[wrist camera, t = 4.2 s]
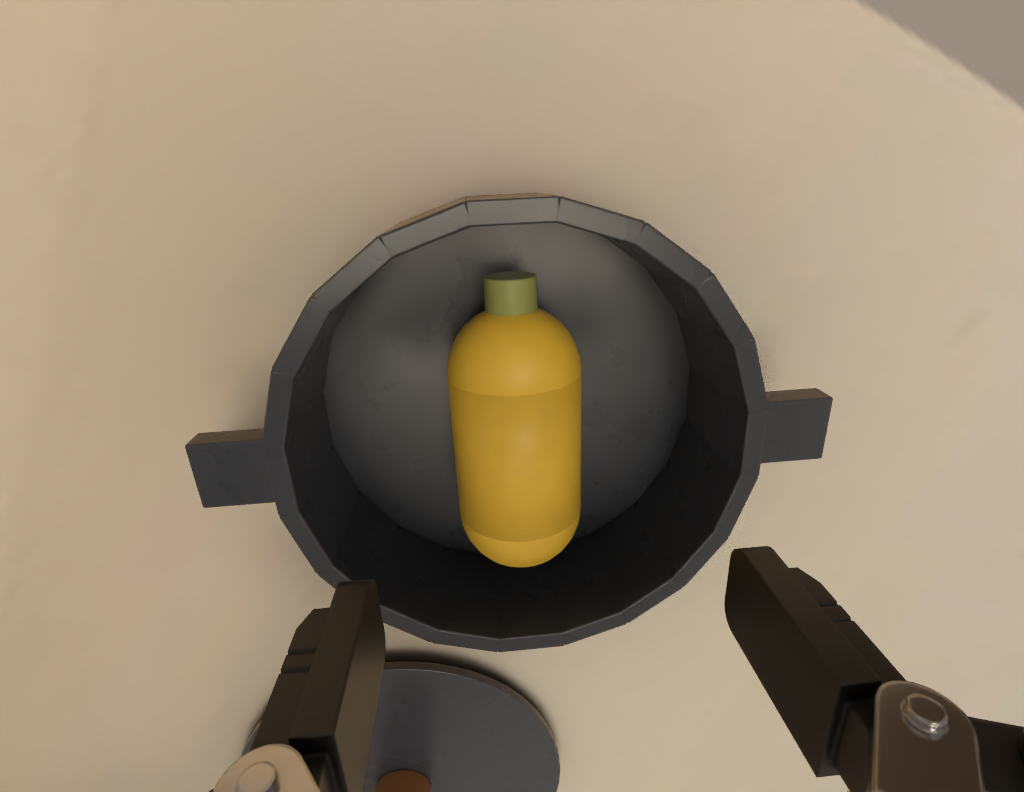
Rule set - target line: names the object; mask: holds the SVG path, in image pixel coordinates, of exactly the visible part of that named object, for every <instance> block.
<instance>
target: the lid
mask: <svg viewBox="0 0 1024 792" xmlns="http://www.w3.org/2000/svg"><path fill="white" fill-rule="evenodd" d="M260 723H261V721H260V722H259V723H258V724H257V725H256V727H255V729H254V730H253V732H252V734H251V735H250V737H249V739H248V741H247V743H246V746H245V748H244V751H243V754H242V756H243V755H245V754H247V753H248V752H249V750H250V748H251V746H252V744H253V741H254V739H255V736H256V733H257V731H258V728H259V726H260ZM242 756H241V757H242ZM559 775H560V764H559V755H558V749H557V746H556V742H555V739H554V736H553V734H552V732H551V730H550V728H549V726H548V724H547V722H546V721H545V720H544V718H543V717H542V716H541V714H540V713H539V712H538V711H537V709H536V708H535V707H534V706H533V705H531V704H530V703H529V702H528V701H527V700H526V699H525V698H524V697H523V696H521V695H520V694H518V693H517V692H515V691H514V690H512V689H511V688H510V687H508V686H506V685H504V684H502V683H500V682H498V681H496V680H494V679H492V678H490V677H487V676H485V675H482V674H479V673H477V672H474V671H471V670H467V669H463V668H459V667H455V666H451V665H444V664H438V663H431V662H412V661H401V662H384V668H383V674H382V679H381V685H380V691H379V697H378V703H377V708H376V714H375V720H374V726H373V732H372V737H371V743H370V749H369V755H368V761H367V766H366V772H365V778H364V784H363V790H362V792H556V791H557V788H558V784H559Z"/></svg>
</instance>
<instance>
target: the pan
mask: <svg viewBox="0 0 1024 792" xmlns="http://www.w3.org/2000/svg"><path fill="white" fill-rule="evenodd" d="M510 271H522V272H531V273H534V274H536V276H537V308H539V309H541V310H544V311H546V312H548V313H549V314H551V315H552V316H554V317H555V318H556V319H558V320H559V321H560V322H561V323H562V324H563V325H564V327H565V328H566V329H567V330H568V331H569V333H570V334H571V336H572V338H573V340H574V341H575V344H576V347H577V350H578V353H579V356H580V361H581V510H580V518H579V523H578V526H577V528H576V531H575V533H574V535H573V537H572V539H571V540H570V542H569V543H568V544H567V546H566V547H565V548H564V549H563V550H562V551H561V552H560V553H559V554H557V555H556V556H555V557H553V558H552V559H550V560H549V561H547V562H544V563H542V564H539V565H536V566H530V567H509V566H505V565H501V564H499V563H496V562H494V561H492V560H491V559H489V558H488V557H486V556H485V555H483V554H482V553H481V552H480V551H479V550H478V549H477V548H476V547H475V546H474V545H473V544H472V542H471V541H470V539H469V538H468V536H467V534H466V532H465V530H464V527H463V525H462V520H461V515H460V508H459V498H458V487H457V477H456V466H455V455H454V445H453V434H452V423H451V413H450V402H449V392H448V381H447V362H448V357H449V353H450V349H451V347H452V345H453V343H454V340H455V338H456V336H457V335H458V333H459V332H460V330H461V329H462V328H463V326H464V325H465V324H466V323H468V322H469V321H470V320H471V319H472V318H473V317H474V316H476V315H477V314H479V313H481V312H483V311H484V310H485V301H484V285H483V277H484V276H486V275H488V274H492V273H498V272H510ZM832 400H833V398H832V397H831V396H829V395H827V394H825V393H824V392H822V391H820V390H819V389H817V388H811V389H798V390H784V391H770V392H765V388H764V383H763V378H762V373H761V368H760V363H759V358H758V353H757V348H756V343H755V339H754V338H753V335H752V333H751V332H750V330H749V329H748V327H747V325H746V324H745V322H744V321H743V319H742V318H741V316H740V314H739V313H738V311H737V310H736V308H735V306H734V305H733V303H732V302H731V300H730V299H729V297H728V295H727V294H726V292H725V291H724V289H723V287H722V286H721V284H720V283H719V281H718V280H717V278H716V276H715V275H714V274H713V273H711V270H710V269H708V268H707V267H706V266H704V265H703V264H702V263H700V262H699V261H698V260H696V259H695V258H694V257H692V256H691V255H690V254H688V253H687V252H686V251H684V250H683V249H682V248H680V247H679V246H678V245H676V244H675V243H674V242H672V241H671V240H670V239H668V238H667V237H666V236H664V235H663V234H662V233H660V232H659V231H658V230H656V229H655V228H654V227H652V226H651V225H650V224H648V223H645V222H644V221H642V220H639V219H636V218H632V217H629V216H626V215H622V214H619V213H616V212H612V211H609V210H606V209H602V208H599V207H596V206H592V205H589V204H585V203H582V202H579V201H575V200H572V199H569V198H565V197H562V196H555V195H547V194H540V193H524V194H499V195H483V196H467V197H466V198H465V197H463V198H460V199H458V200H455V201H453V202H450V203H448V204H445V205H443V206H440V207H438V208H435V209H433V210H430V211H428V212H425V213H423V214H421V215H418V216H416V217H413V218H411V219H408V220H406V221H403V222H401V223H399V224H397V225H396V226H394V227H392V228H391V229H389V230H387V231H386V232H384V233H382V234H381V235H379V236H377V237H376V238H375V239H374V240H373V241H372V242H370V243H369V244H368V245H367V246H366V247H365V248H364V249H362V250H361V251H360V252H359V253H358V254H357V255H356V256H355V257H353V258H352V259H351V260H350V261H349V262H348V263H347V264H346V265H344V266H343V267H342V268H341V269H340V270H339V271H338V272H337V273H335V274H334V275H333V276H332V277H331V278H330V279H329V280H327V281H326V282H325V283H324V284H323V285H322V286H321V287H320V288H318V289H317V290H316V291H315V292H314V293H313V294H312V296H311V297H310V298H309V299H308V301H307V303H306V305H305V307H304V309H303V311H302V313H301V314H300V316H299V318H298V320H297V322H296V324H295V326H294V327H293V329H292V331H291V333H290V335H289V337H288V339H287V341H286V342H285V344H284V346H283V348H282V350H281V352H280V354H279V355H278V357H277V359H276V361H275V363H274V365H273V367H272V371H271V376H270V384H269V392H268V400H267V408H266V416H265V424H264V429H250V430H236V431H223V432H209V433H199V434H197V435H196V436H195V437H194V438H193V439H192V440H191V441H189V442H188V443H187V444H186V446H185V448H186V452H187V455H188V458H189V462H190V465H191V468H192V472H193V475H194V478H195V482H196V485H197V488H198V492H199V495H200V498H201V502H202V505H203V507H204V508H208V507H221V506H233V505H245V504H258V503H270V502H276V506H277V510H278V514H279V515H280V519H281V520H282V522H283V523H284V525H285V526H286V528H287V529H288V531H289V532H290V534H291V535H292V537H293V538H294V540H295V541H296V543H297V544H298V546H299V548H300V549H301V551H302V552H303V554H304V555H305V557H306V558H307V560H308V561H309V563H310V564H311V566H312V567H313V569H314V570H315V572H316V573H318V575H319V576H320V577H321V578H322V579H324V580H325V581H326V582H327V583H329V584H330V585H331V586H332V587H334V588H335V589H336V587H337V585H338V583H339V582H345V581H356V580H368V579H374V580H375V582H376V585H377V590H378V596H379V602H380V608H381V614H382V619H383V622H384V623H386V624H388V625H391V626H393V627H395V628H398V629H400V630H403V631H405V632H407V633H410V634H412V635H414V636H417V637H419V638H422V639H424V640H426V641H429V642H433V643H437V644H444V645H451V646H458V647H465V648H472V649H479V650H486V651H493V652H497V651H498V652H506V651H516V650H526V649H536V648H547V647H557V646H564V644H565V645H567V644H570V643H573V642H576V641H579V640H582V639H584V638H587V637H590V636H593V635H596V634H599V633H602V632H605V631H607V630H610V629H613V628H616V627H619V626H622V625H625V624H626V623H627V622H628V623H629V622H631V621H632V620H634V619H635V618H637V617H638V616H640V615H641V614H643V613H644V612H646V611H648V610H649V609H651V608H652V607H654V606H655V605H657V604H658V603H660V602H661V601H663V600H664V599H666V598H668V597H669V596H671V595H672V594H674V593H675V592H677V591H678V590H680V589H681V588H682V587H683V586H685V585H686V584H687V583H688V582H689V581H690V580H691V579H692V578H693V577H694V575H695V574H696V573H697V572H698V571H699V570H700V569H701V568H702V567H703V566H704V564H705V563H706V562H707V561H708V560H709V559H710V558H711V557H712V556H713V555H714V553H715V552H716V551H717V550H718V549H719V548H720V547H721V546H722V545H723V543H724V542H725V541H726V540H727V539H728V536H730V534H731V532H732V530H733V528H734V525H735V523H736V521H737V519H738V517H739V515H740V513H741V511H742V509H743V507H744V505H745V503H746V501H747V499H748V497H749V495H750V493H751V491H752V489H753V487H754V485H755V483H756V481H757V478H758V477H757V476H759V470H760V464H761V463H769V462H781V461H793V460H806V459H818V458H821V457H822V453H823V447H824V442H825V437H826V432H827V426H828V421H829V416H830V411H831V405H832Z"/></svg>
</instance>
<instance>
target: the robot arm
mask: <svg viewBox="0 0 1024 792" xmlns="http://www.w3.org/2000/svg"><path fill="white" fill-rule="evenodd" d="M725 613H726V618H727V622H728V625H729V627H730V630H731V631H732V633H733V635H734V637H735V638H736V640H737V642H738V644H739V645H740V647H741V649H742V650H743V652H744V654H745V656H746V657H747V659H748V661H749V662H750V664H751V666H752V668H753V669H754V671H755V673H756V674H757V676H758V678H759V679H760V681H761V683H762V685H763V686H764V688H765V690H766V691H767V693H768V695H769V697H770V698H771V700H772V702H773V703H774V705H775V707H776V709H777V710H778V712H779V714H780V715H781V717H782V719H783V721H784V722H785V724H786V726H787V727H788V729H789V731H790V732H791V734H792V736H793V738H794V739H795V741H796V743H797V744H798V746H799V748H800V750H801V751H802V753H803V755H804V756H805V758H806V760H807V762H808V763H809V765H810V767H811V768H812V770H813V772H814V774H815V775H816V777H824V776H833V775H840V776H841V777H842V779H843V781H844V782H845V784H846V785H847V787H848V790H847V792H1024V727H1020V726H1015V725H1010V724H1004V723H999V722H993V721H988V720H983V719H977V718H972V717H968V716H966V714H965V713H964V712H963V711H962V710H961V709H960V708H959V707H958V706H957V705H956V704H954V703H953V702H952V701H950V700H949V699H948V698H946V697H945V696H943V695H941V694H940V693H938V692H936V691H934V690H932V689H930V688H928V687H926V686H923V685H920V684H917V683H913V682H908V681H906V680H905V679H904V678H903V676H902V675H901V674H900V673H899V672H898V671H897V670H896V668H895V667H894V666H893V665H892V664H891V663H890V662H889V660H888V659H887V658H886V657H885V656H884V655H883V654H882V653H881V651H880V650H879V649H878V648H877V647H876V646H875V645H874V643H873V642H872V641H871V640H870V639H869V638H868V637H867V635H866V634H865V633H864V632H863V631H862V630H861V629H860V627H859V626H858V625H857V624H856V623H855V622H854V621H851V619H850V616H849V615H848V614H847V613H846V611H845V610H844V609H843V608H842V607H841V606H840V605H837V601H836V600H835V599H834V598H833V597H832V595H831V594H830V593H829V592H828V591H827V590H826V589H825V587H824V586H823V585H822V584H821V583H820V582H818V581H817V580H815V579H814V578H812V577H811V576H809V575H808V574H806V573H805V572H803V571H802V570H800V569H799V568H788V567H787V565H786V564H785V563H784V562H783V561H782V559H781V558H780V557H779V556H778V555H777V553H776V552H775V551H774V550H773V549H772V548H771V547H768V546H763V547H752V548H740V549H734V550H733V551H732V554H731V558H730V565H729V573H728V580H727V588H726V595H725ZM384 662H385V631H384V625H383V619H382V614H381V608H380V602H379V596H378V590H377V585H376V582H375V580H374V579H368V580H356V581H345V582H339V583H338V585H337V587H336V590H335V593H334V596H333V599H332V603H331V606H330V608H322V609H313V610H312V612H311V613H310V614H309V615H308V616H307V617H306V618H305V620H304V621H303V622H302V623H301V624H300V625H299V626H298V628H297V629H296V631H295V634H294V636H293V639H292V642H291V644H290V647H289V650H288V655H286V657H285V660H284V663H283V665H282V668H281V674H279V676H278V678H277V681H276V684H275V686H274V689H273V691H272V694H271V697H270V699H269V702H268V705H267V707H266V710H265V712H264V715H263V718H262V720H261V723H260V726H259V728H258V731H257V733H256V736H255V739H254V741H253V744H252V746H251V748H250V750H249V752H248V753H247V754H245V755H243V756H242V757H241V758H239V759H238V760H237V761H236V762H234V763H233V764H232V765H231V766H230V767H229V768H228V769H227V770H226V772H225V773H224V774H223V775H222V777H221V778H220V779H219V781H218V783H217V784H216V786H215V788H214V789H212V790H211V791H209V792H362V790H363V784H364V778H365V772H366V766H367V761H368V755H369V749H370V743H371V737H372V732H373V726H374V720H375V714H376V708H377V703H378V697H379V691H380V685H381V679H382V674H383V668H384Z"/></svg>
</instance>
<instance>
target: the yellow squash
mask: <svg viewBox="0 0 1024 792" xmlns="http://www.w3.org/2000/svg"><path fill="white" fill-rule="evenodd" d="M483 285H484V301H485V310H484V311H483V312H481V313H479V314H477V315H476V316H474V317H473V318H472V319H471V320H470V321H469V322H468V323H466V324H465V325H464V326H463V328H462V329H461V330H460V332H459V333H458V335H457V336H456V338H455V340H454V343H453V345H452V347H451V349H450V353H449V357H448V362H447V381H448V392H449V402H450V413H451V423H452V434H453V445H454V455H455V466H456V477H457V487H458V498H459V508H460V515H461V520H462V525H463V527H464V530H465V532H466V534H467V536H468V538H469V539H470V541H471V542H472V544H473V545H474V546H475V547H476V548H477V549H478V550H479V551H480V552H481V553H482V554H483V555H485V556H486V557H488V558H489V559H491V560H492V561H494V562H496V563H499V564H501V565H505V566H509V567H530V566H536V565H539V564H542V563H544V562H547V561H549V560H550V559H552V558H553V557H555V556H556V555H557V554H559V553H560V552H561V551H562V550H563V549H564V548H565V547H566V546H567V544H568V543H569V542H570V540H571V539H572V537H573V535H574V533H575V531H576V528H577V526H578V523H579V518H580V510H581V361H580V356H579V353H578V350H577V347H576V344H575V341H574V340H573V338H572V336H571V334H570V333H569V331H568V330H567V329H566V328H565V327H564V325H563V324H562V323H561V322H560V321H559V320H558V319H556V318H555V317H554V316H552V315H551V314H549V313H548V312H546V311H544V310H541V309H539V308H537V276H536V274H534V273H531V272H522V271H510V272H498V273H492V274H488V275H486V276H484V277H483Z"/></svg>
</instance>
